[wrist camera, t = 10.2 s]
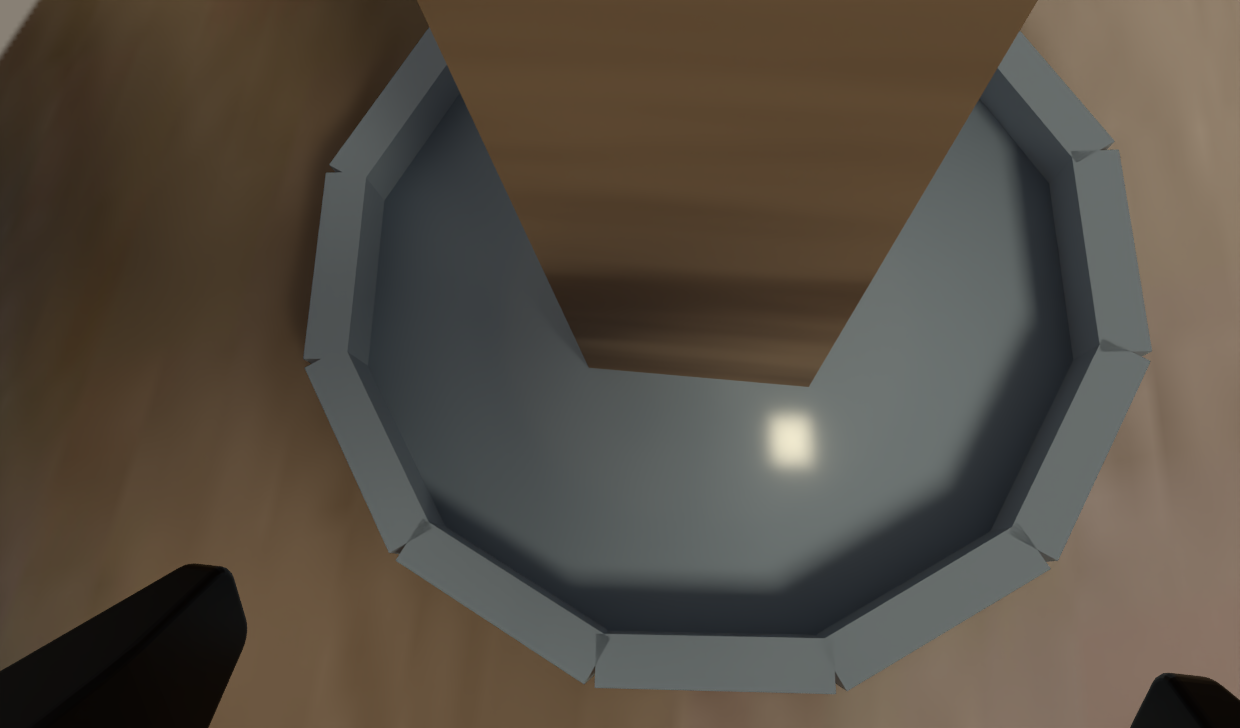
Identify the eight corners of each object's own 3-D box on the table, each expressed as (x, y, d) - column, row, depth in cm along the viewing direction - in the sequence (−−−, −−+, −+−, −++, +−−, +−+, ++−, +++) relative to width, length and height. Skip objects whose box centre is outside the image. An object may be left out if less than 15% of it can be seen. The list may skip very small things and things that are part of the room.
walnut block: (808, 387, 18) (1067, -50, 6) (588, 367, 19) (384, -70, 6) (819, 185, 19) (1051, -536, 7) (613, 173, 20) (485, -515, 8)
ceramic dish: (554, 843, 17) (537, 877, 15) (243, 179, 22) (200, 139, 20) (1266, 418, 18) (1334, 397, 16) (817, -126, 23) (829, -192, 21)
